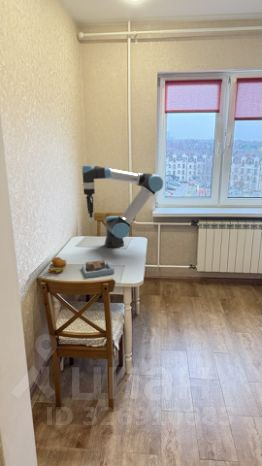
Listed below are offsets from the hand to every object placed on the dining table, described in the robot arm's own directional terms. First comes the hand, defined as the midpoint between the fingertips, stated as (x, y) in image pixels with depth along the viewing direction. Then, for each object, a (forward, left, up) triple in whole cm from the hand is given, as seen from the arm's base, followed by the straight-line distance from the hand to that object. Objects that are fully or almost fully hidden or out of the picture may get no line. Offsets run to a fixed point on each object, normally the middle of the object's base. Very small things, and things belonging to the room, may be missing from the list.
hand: (91, 221), depth 228 cm
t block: (+4, +31, -25) cm, 40 cm away
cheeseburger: (+28, +23, -25) cm, 44 cm away
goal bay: (+4, +32, -24) cm, 40 cm away
